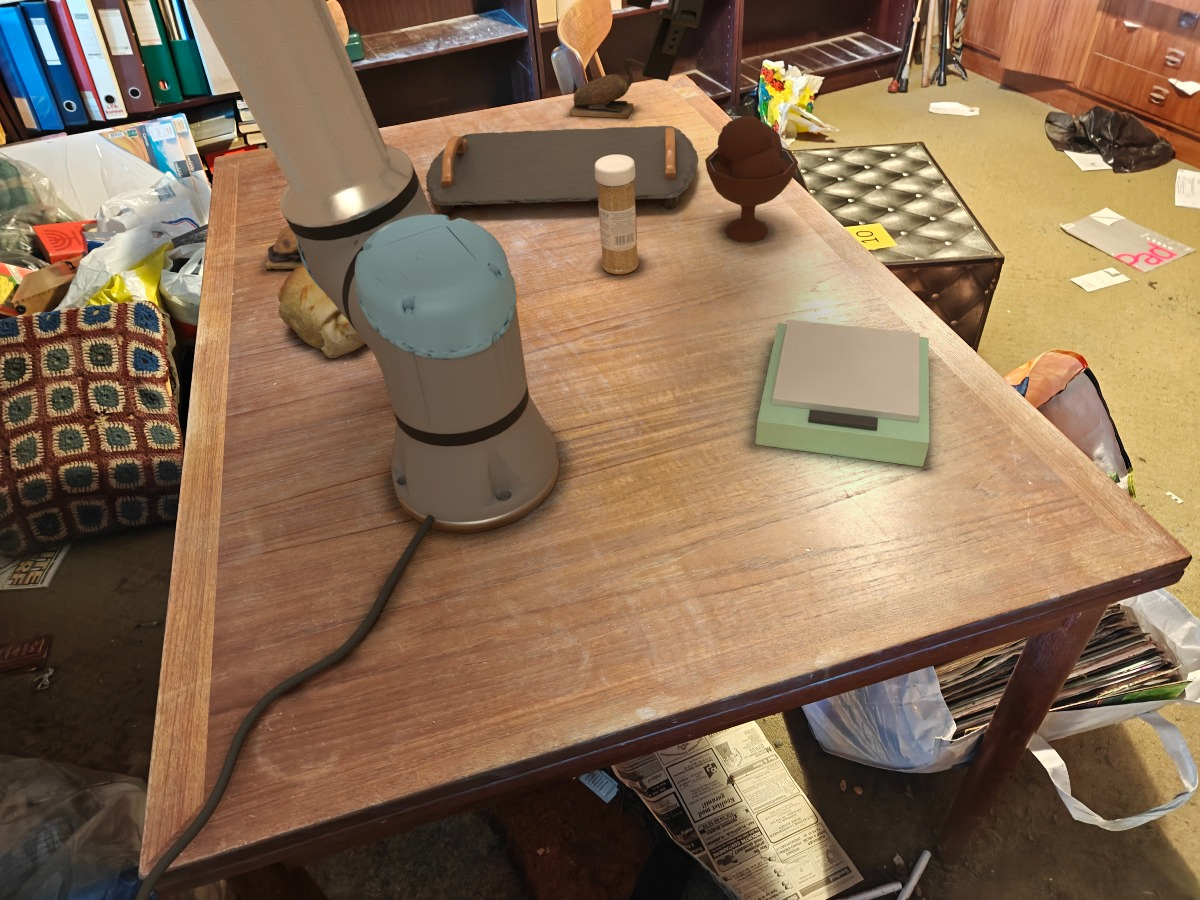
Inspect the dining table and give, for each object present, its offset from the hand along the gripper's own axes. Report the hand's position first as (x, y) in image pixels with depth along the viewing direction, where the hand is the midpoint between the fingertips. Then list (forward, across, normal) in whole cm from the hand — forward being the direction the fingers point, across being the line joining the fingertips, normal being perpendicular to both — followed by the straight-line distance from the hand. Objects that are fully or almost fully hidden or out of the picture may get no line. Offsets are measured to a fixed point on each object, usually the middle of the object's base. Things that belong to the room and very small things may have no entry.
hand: (645, 40), depth 92 cm
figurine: (+33, +37, -11) cm, 51 cm away
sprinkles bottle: (+23, -10, -3) cm, 26 cm away
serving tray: (+31, +15, 0) cm, 34 cm away
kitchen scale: (+11, -38, -19) cm, 44 cm away
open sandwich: (+39, +2, +34) cm, 52 cm away
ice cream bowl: (+19, -5, -20) cm, 28 cm away
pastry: (+32, -16, +29) cm, 47 cm away
